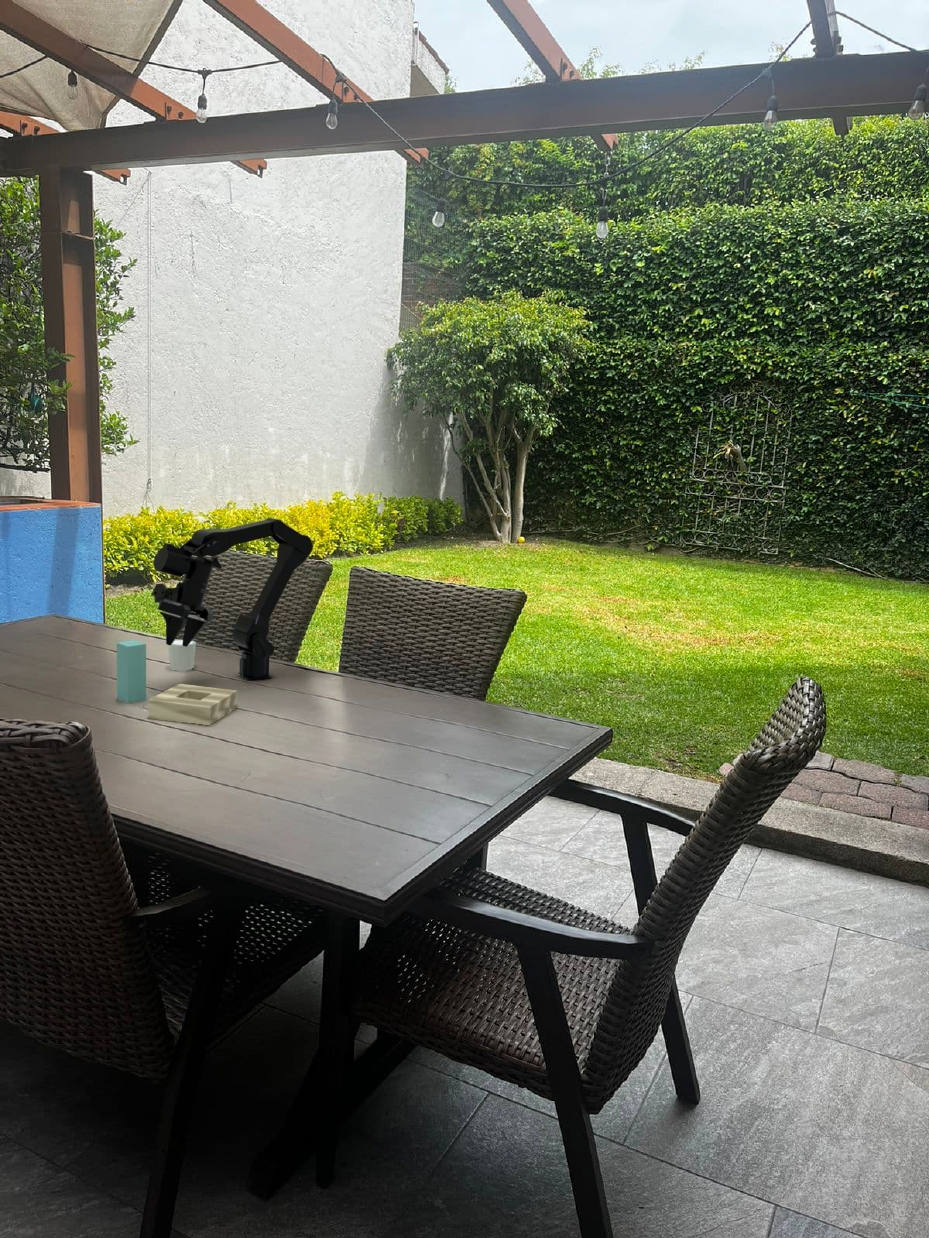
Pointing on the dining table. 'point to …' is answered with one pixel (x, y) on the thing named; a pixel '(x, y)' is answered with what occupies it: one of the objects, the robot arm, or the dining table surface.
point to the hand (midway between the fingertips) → (176, 645)
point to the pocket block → (192, 704)
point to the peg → (131, 671)
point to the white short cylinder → (181, 655)
